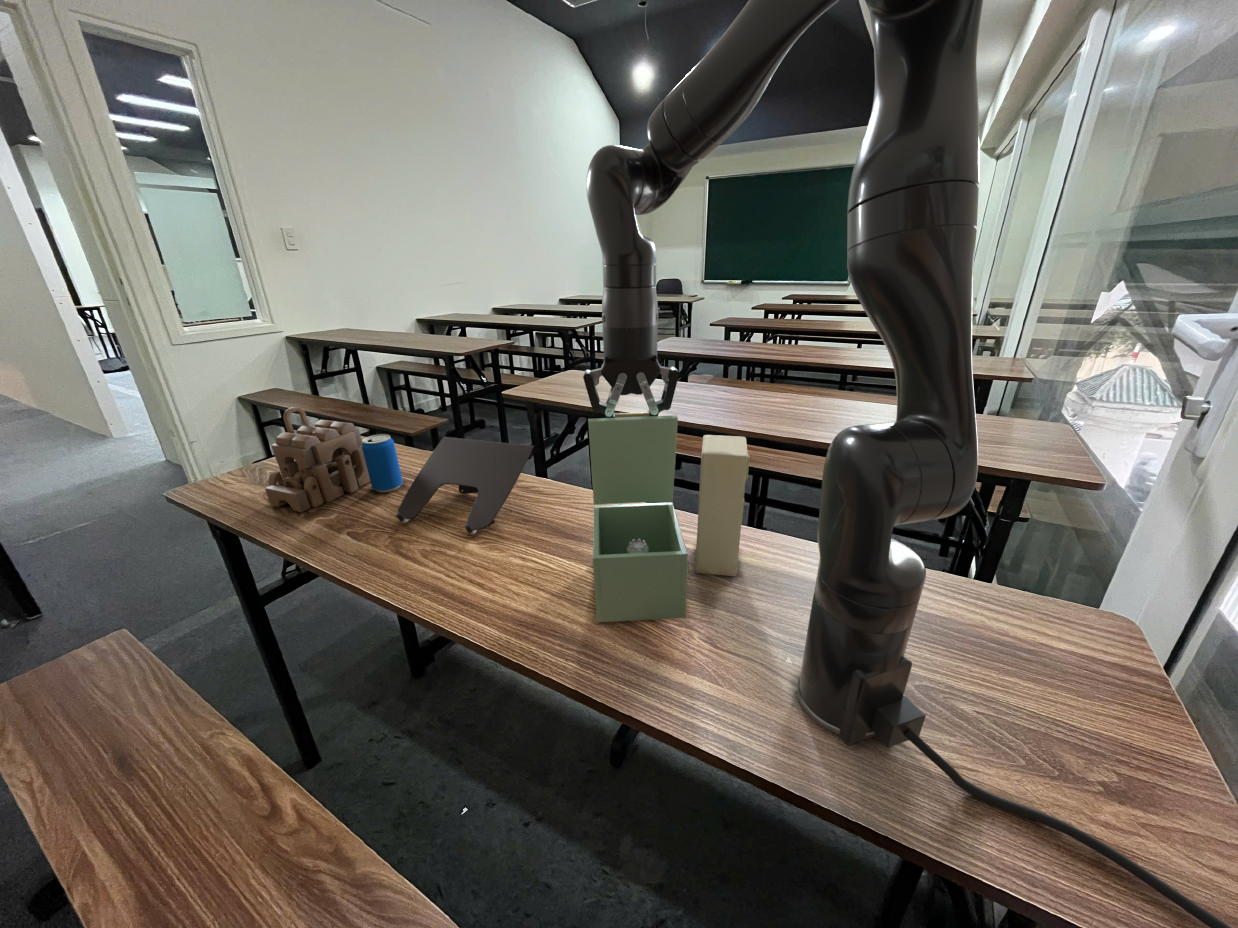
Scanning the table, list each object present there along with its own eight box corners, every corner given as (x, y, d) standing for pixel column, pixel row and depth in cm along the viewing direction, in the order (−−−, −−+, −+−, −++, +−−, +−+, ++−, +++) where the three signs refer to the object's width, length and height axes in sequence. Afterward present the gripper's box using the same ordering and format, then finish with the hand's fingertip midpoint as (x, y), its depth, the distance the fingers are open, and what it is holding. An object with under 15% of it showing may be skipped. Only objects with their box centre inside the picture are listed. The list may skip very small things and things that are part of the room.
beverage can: (375, 483, 112) (362, 435, 107) (404, 479, 113) (394, 432, 109) (370, 495, 106) (357, 445, 101) (402, 491, 108) (390, 441, 103)
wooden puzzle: (308, 514, 99) (280, 429, 91) (261, 503, 104) (231, 422, 97) (391, 472, 118) (373, 399, 110) (347, 465, 123) (327, 394, 115)
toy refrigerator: (741, 578, 76) (753, 455, 67) (694, 573, 77) (700, 453, 69) (740, 550, 83) (750, 436, 74) (697, 546, 84) (702, 434, 76)
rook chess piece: (658, 592, 72) (658, 547, 68) (630, 600, 70) (629, 554, 67) (645, 576, 75) (645, 532, 72) (619, 583, 74) (617, 539, 71)
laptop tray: (404, 539, 100) (381, 514, 93) (456, 457, 114) (439, 430, 107) (501, 556, 93) (483, 530, 86) (543, 466, 107) (531, 438, 100)
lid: (678, 418, 67) (673, 400, 71) (588, 421, 67) (588, 404, 71) (672, 501, 76) (668, 481, 80) (593, 504, 76) (593, 485, 80)
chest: (685, 618, 68) (688, 554, 63) (596, 622, 67) (592, 558, 63) (671, 558, 81) (672, 502, 77) (597, 561, 81) (593, 505, 76)
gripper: (678, 315, 69) (675, 426, 76) (578, 319, 68) (584, 430, 76) (687, 323, 62) (682, 444, 69) (576, 327, 62) (583, 448, 69)
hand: (631, 436), depth 72 cm, fingers closed on lid, 5 cm apart
